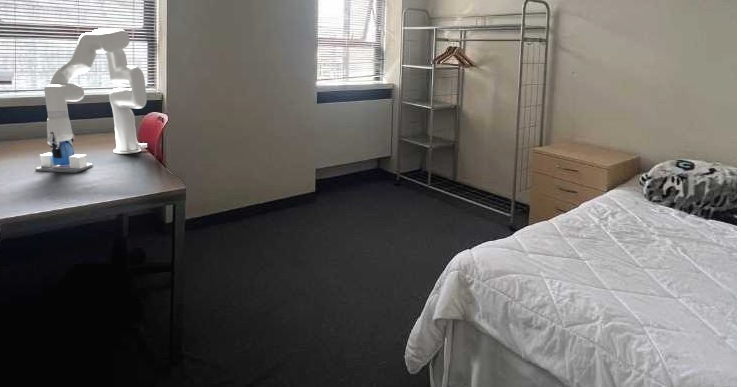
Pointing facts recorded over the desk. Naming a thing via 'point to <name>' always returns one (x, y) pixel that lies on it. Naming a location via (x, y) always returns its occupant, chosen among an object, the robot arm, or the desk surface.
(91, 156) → the desk surface
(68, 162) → the perfume bottle
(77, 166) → the module rail
